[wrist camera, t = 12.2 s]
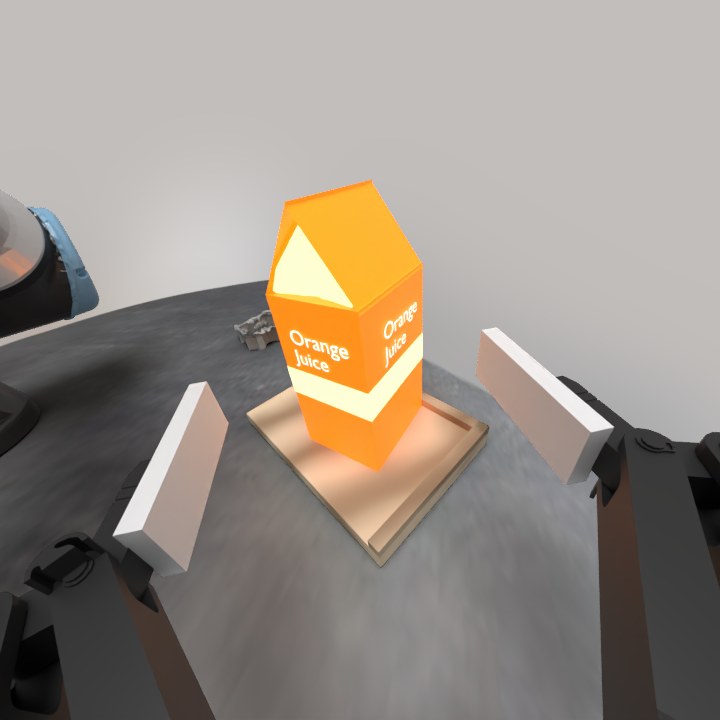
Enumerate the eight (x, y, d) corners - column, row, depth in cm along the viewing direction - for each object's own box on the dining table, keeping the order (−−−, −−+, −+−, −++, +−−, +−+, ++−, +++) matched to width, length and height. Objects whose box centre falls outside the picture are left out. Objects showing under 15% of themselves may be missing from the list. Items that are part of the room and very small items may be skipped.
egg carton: (293, 317, 55) (288, 296, 53) (312, 331, 50) (307, 308, 48) (236, 338, 51) (228, 316, 48) (251, 356, 45) (242, 332, 43)
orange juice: (423, 406, 30) (425, 175, 19) (379, 473, 24) (344, 199, 13) (359, 384, 34) (329, 183, 23) (308, 438, 28) (234, 204, 17)
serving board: (250, 423, 33) (243, 408, 32) (345, 364, 40) (342, 350, 39) (381, 567, 20) (378, 552, 19) (486, 443, 27) (489, 426, 26)
